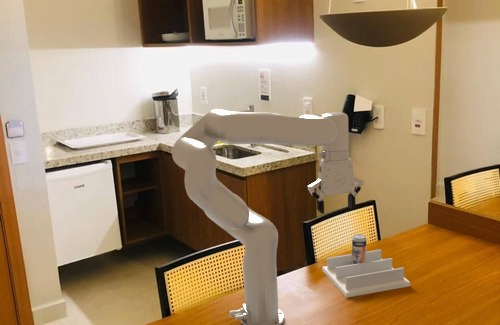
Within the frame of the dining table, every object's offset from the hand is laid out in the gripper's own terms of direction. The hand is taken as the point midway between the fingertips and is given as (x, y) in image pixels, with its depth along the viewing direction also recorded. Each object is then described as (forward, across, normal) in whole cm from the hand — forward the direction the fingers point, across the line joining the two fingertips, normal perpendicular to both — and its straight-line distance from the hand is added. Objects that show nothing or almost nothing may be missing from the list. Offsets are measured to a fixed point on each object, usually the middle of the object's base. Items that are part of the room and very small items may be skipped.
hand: (336, 210), depth 156 cm
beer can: (+27, +13, +12) cm, 32 cm away
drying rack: (+28, +13, +8) cm, 32 cm away
